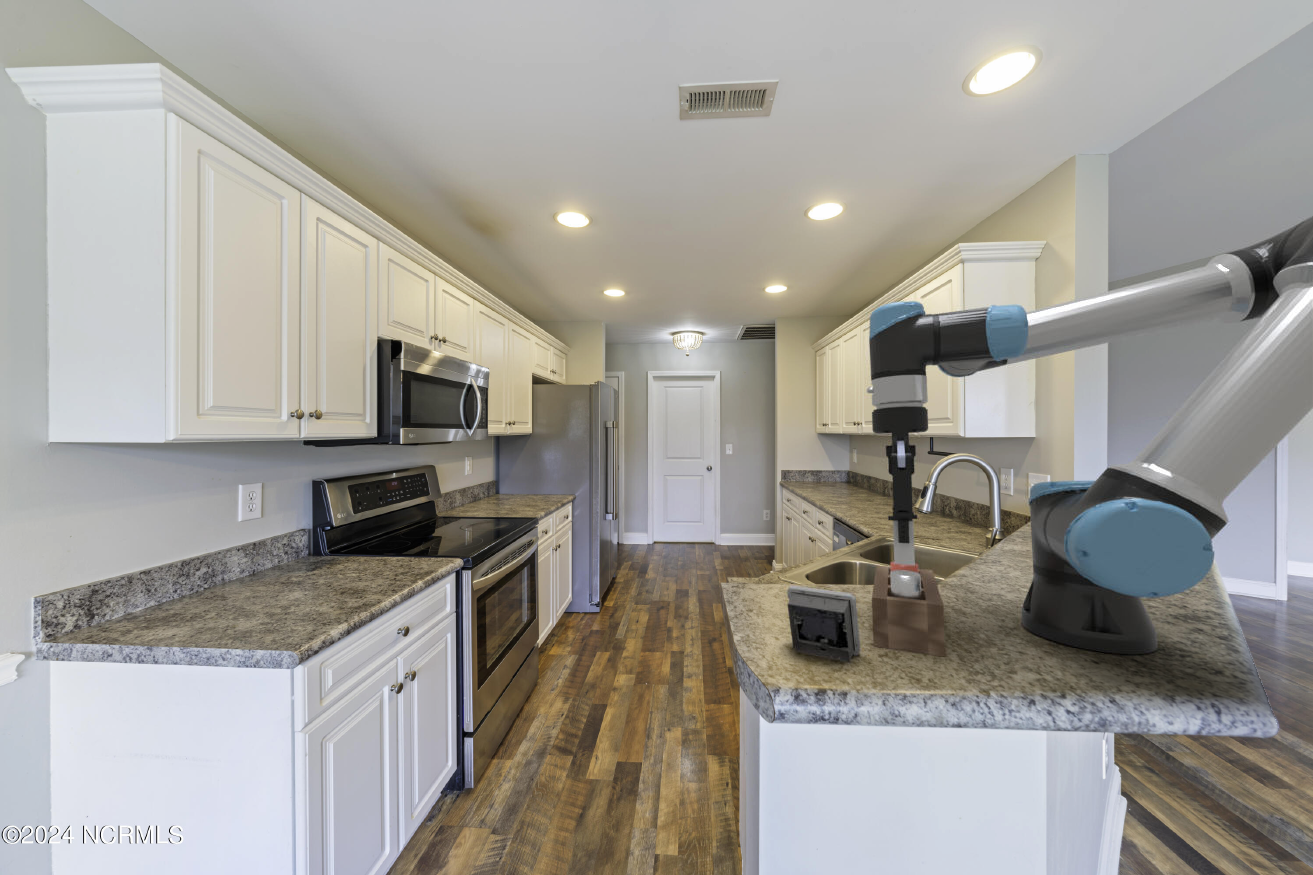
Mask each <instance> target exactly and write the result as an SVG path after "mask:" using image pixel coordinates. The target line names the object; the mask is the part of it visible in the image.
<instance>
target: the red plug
mask: <svg viewBox="0 0 1313 875" xmlns="http://www.w3.org/2000/svg"><path fill="white" fill-rule="evenodd" d="M890 567H891V571H894V570H906V571H913V572H917V573H919V569H920V568H919V564H918V563H916V562H915V566H914V565H902V564H894V560H893V561H890Z"/></svg>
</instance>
